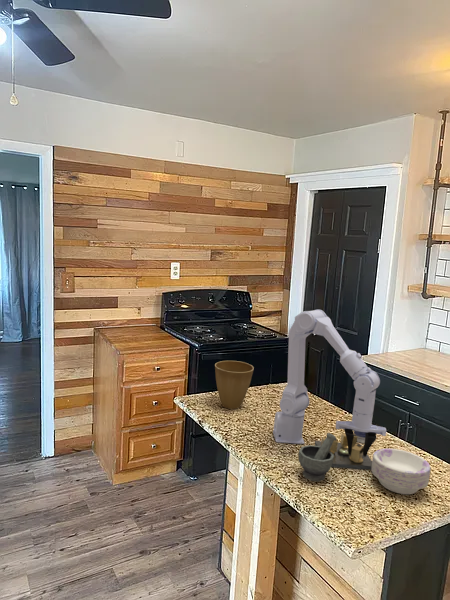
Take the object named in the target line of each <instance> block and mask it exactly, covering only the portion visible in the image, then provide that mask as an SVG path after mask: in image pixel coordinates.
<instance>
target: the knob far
mask: <svg viewBox="0 0 450 600" xmlns="http://www.w3.org/2000/svg"><path fill="white" fill-rule="evenodd" d="M353 435H354V438H353V443H352V448H353V447H354V446H355V444H358V442H357V436H356V434H354V433H353ZM339 443H341V445H342V447H343V448H344V449H347V450H348V442H347V437H346V434H345V432H341V436H340V442H339Z"/></svg>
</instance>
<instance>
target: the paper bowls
mask: <svg viewBox="0 0 450 600" xmlns="http://www.w3.org/2000/svg"><path fill="white" fill-rule="evenodd" d="M371 460H372V467H371V470H370V471H371V474H372V475H373V476H374V477H376V478H377V479H378V482H379V483H380V484H381V485H382V486H383V487H384V488H385V489H387V490H389V491H390V492H393V493H397V494H401V495H412V494H416V493H417V492H418V491H419V490H420V489H421V490H422V489H424V488H426V487H428V485H429V483H430V481H429V480H430V475H431V465H430V463H429V462H428V461H427V460H426V459H425V458H423V457H421V456H419V455H418V454H415V453H414V452H413V453H412V452H411V451H406V450H403V449H399V448H389V447H388V448H380V449H377V450H376V451H374V452H373V454H372V459H371Z"/></svg>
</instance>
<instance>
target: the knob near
mask: <svg viewBox="0 0 450 600" xmlns="http://www.w3.org/2000/svg"><path fill="white" fill-rule="evenodd" d="M359 444H360V443H357V444H355V446H354V447H353V448H352V452H351V456H350V458H349V459H350V460H351V461H352V462H355V463H362V462H363V458H362V456H363V448H364V445H362V444H360V445H359Z"/></svg>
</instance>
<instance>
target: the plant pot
mask: <svg viewBox="0 0 450 600" xmlns="http://www.w3.org/2000/svg"><path fill="white" fill-rule="evenodd" d="M254 368H255V367H254V366H253V365H252V364H249V363H247V362H245V361H237V360H222V361H218V362H216V363H215V364H214V370H215V371H214V373H215V381H216V382H215V383H216V387H217V388H216V389H217V393H218V398H219V401H220V405H221V406H222V407H223V408H225V409H229V410H238V409H240V408H241V406H242V404H243V402H244V401H245V398H246V395H247V393H248V390H249V388H250V384H251V381H252V377H253V374H254Z"/></svg>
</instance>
